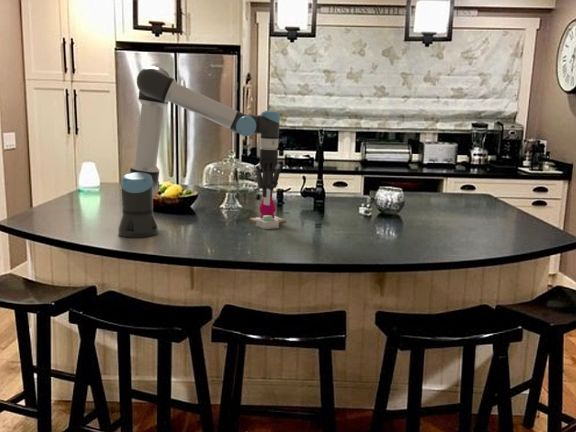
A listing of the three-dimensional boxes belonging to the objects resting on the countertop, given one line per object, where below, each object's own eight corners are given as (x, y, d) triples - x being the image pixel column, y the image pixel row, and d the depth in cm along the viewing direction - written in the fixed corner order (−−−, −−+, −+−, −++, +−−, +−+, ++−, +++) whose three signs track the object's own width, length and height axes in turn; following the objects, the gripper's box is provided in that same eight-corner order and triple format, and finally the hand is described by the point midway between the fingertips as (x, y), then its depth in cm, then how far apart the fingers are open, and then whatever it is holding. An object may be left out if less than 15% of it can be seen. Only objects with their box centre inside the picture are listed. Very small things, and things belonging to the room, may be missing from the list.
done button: (265, 225, 242) (265, 217, 241) (261, 223, 245) (261, 215, 244) (273, 224, 244) (274, 216, 243) (269, 222, 247) (269, 214, 247)
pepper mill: (276, 217, 258) (277, 173, 254) (274, 220, 251) (275, 175, 247) (260, 216, 259) (261, 172, 255) (258, 220, 252) (258, 174, 248)
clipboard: (260, 224, 248) (260, 222, 248) (249, 220, 256) (249, 217, 256) (285, 221, 255) (285, 219, 255) (274, 217, 263) (274, 215, 263)
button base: (264, 229, 240) (264, 222, 239) (256, 225, 246) (256, 218, 245) (278, 227, 244) (278, 220, 243) (270, 224, 250) (270, 217, 249)
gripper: (259, 149, 231) (257, 207, 236) (287, 149, 238) (284, 205, 243) (250, 147, 237) (248, 203, 242) (277, 147, 244) (275, 202, 249)
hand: (266, 204), depth 243 cm, fingers closed
